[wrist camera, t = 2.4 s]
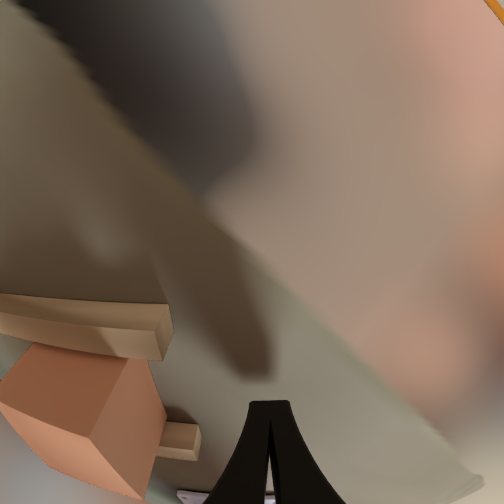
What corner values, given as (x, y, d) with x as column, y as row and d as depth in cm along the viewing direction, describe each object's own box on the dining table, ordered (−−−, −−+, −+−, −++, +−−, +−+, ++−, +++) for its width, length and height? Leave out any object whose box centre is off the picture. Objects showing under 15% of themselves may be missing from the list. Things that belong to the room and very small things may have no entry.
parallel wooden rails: (201, 436, 12) (197, 461, 11) (42, 402, 13) (32, 418, 11) (168, 304, 9) (154, 331, 8) (-13, 291, 10) (-31, 305, 8)
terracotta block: (167, 415, 12) (143, 500, 7) (85, 400, 12) (49, 467, 7) (140, 336, 10) (88, 438, 5) (49, 326, 10) (-11, 395, 6)
